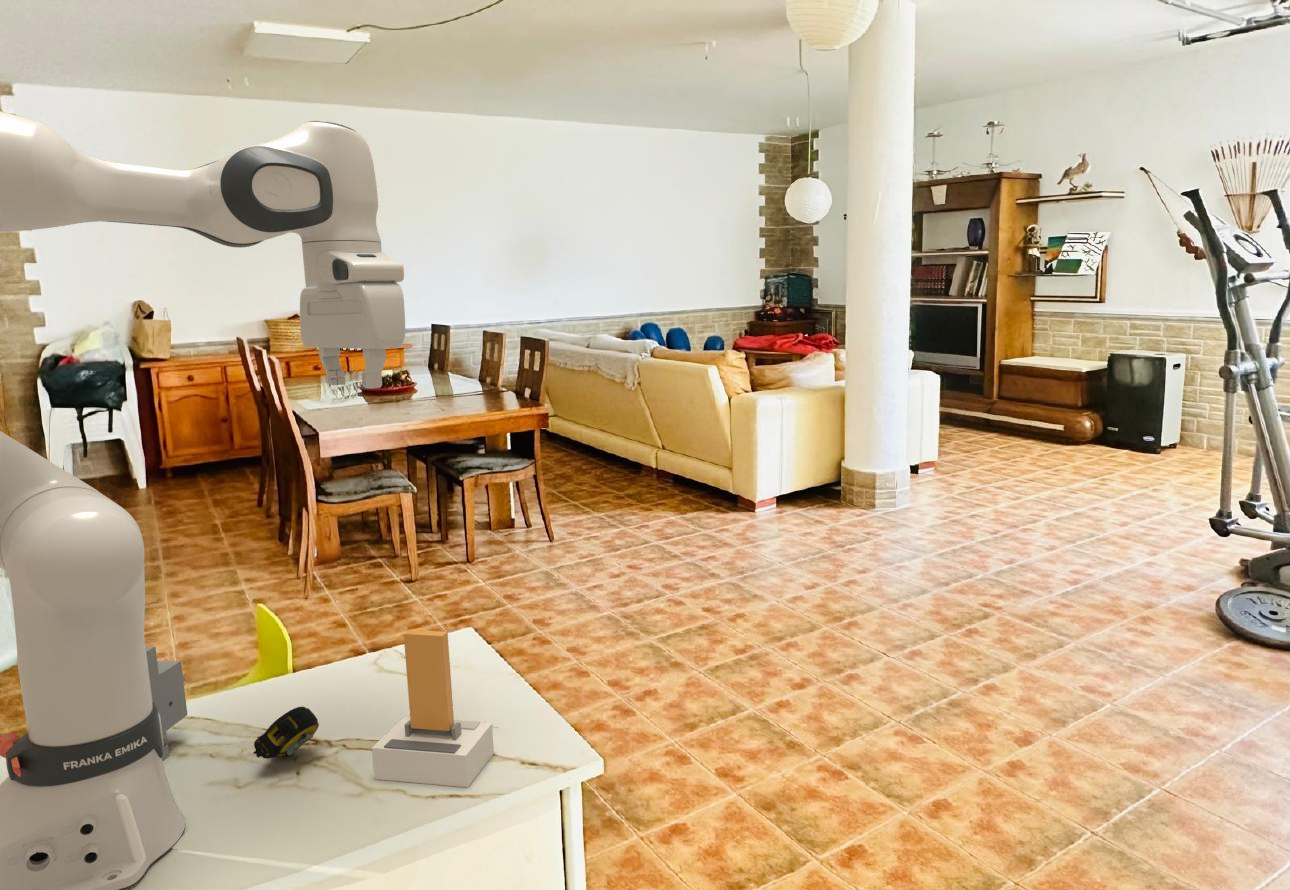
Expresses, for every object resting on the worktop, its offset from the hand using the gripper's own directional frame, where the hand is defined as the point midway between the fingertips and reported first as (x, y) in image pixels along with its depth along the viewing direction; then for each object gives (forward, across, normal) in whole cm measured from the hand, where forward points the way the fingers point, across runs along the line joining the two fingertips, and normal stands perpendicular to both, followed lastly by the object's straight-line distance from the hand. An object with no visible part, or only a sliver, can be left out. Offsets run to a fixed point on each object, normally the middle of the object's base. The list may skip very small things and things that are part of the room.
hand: (353, 386), depth 105 cm
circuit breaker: (+47, -20, -23) cm, 56 cm away
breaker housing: (+46, +9, +2) cm, 47 cm away
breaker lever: (+42, +9, +2) cm, 43 cm away
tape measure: (+47, -5, -10) cm, 48 cm away
